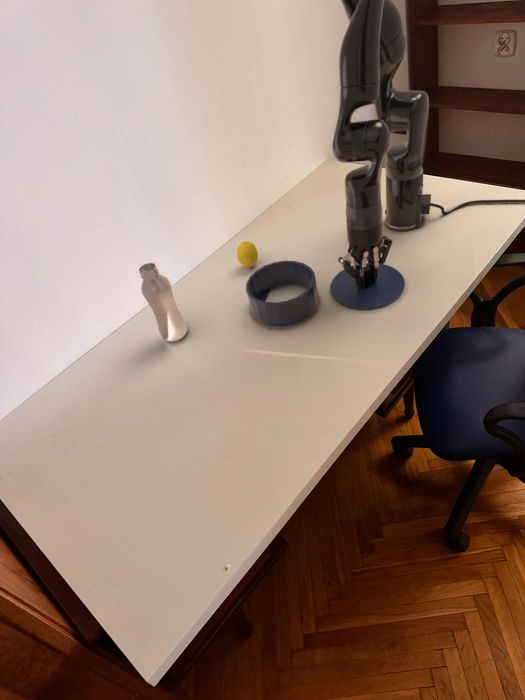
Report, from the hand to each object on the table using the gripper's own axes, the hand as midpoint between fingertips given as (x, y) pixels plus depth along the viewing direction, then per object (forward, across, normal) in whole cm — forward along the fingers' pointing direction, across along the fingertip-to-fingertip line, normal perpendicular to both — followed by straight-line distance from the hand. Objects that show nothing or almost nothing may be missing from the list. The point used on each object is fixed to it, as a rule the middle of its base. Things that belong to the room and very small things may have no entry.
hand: (367, 283), depth 112 cm
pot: (+1, -18, +8) cm, 20 cm away
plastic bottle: (+2, -45, +15) cm, 47 cm away
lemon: (+2, -18, +28) cm, 33 cm away
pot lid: (+1, 0, 0) cm, 1 cm away
